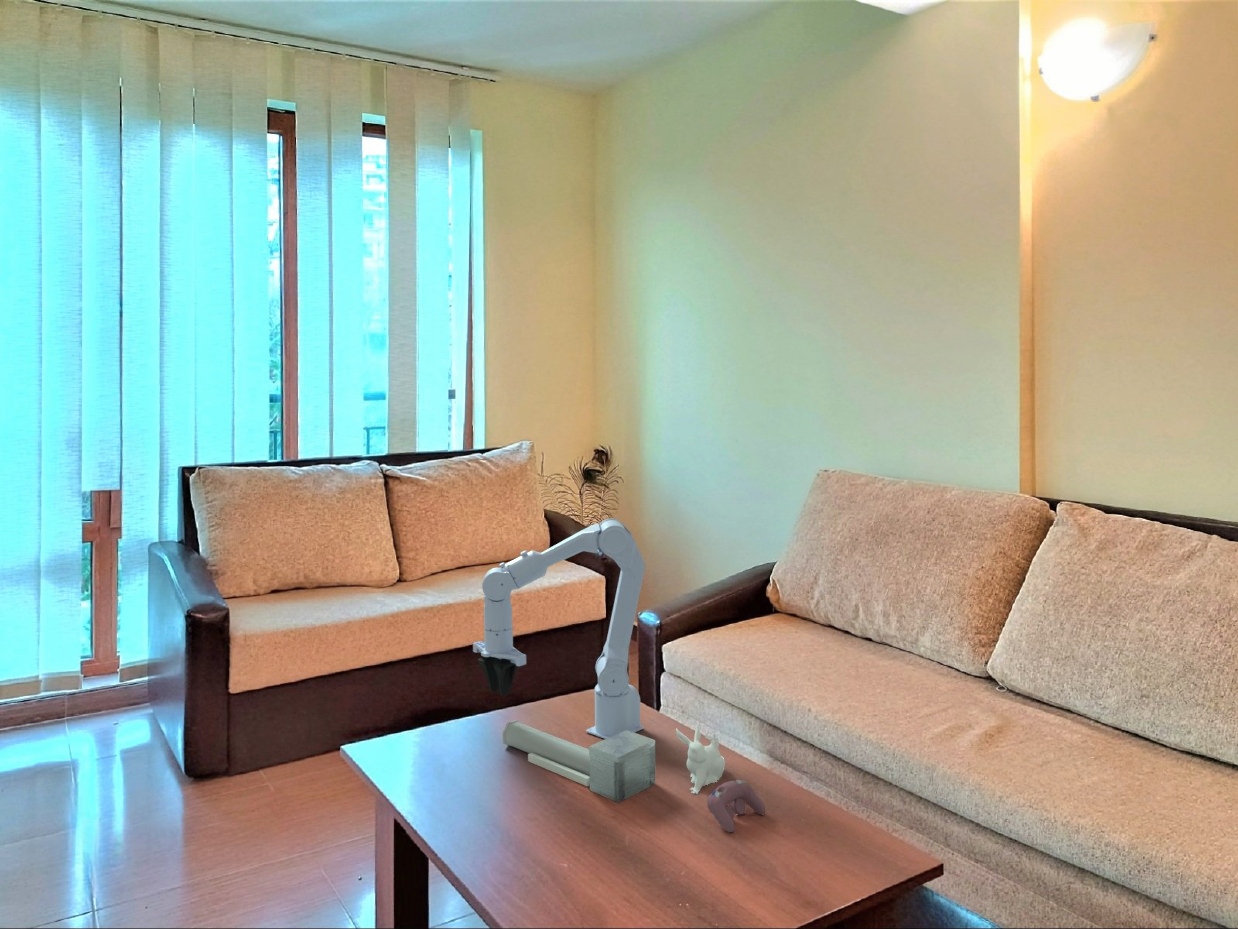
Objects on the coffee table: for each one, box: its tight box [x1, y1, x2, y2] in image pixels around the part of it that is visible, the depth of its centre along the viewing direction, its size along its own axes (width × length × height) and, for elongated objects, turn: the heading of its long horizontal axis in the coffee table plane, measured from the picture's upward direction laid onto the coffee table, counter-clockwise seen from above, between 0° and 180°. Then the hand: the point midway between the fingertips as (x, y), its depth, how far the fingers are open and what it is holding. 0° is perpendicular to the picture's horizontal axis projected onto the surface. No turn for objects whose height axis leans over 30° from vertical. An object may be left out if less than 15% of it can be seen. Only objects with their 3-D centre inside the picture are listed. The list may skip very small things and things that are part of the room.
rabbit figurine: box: [675, 724, 726, 795], centre depth 165 cm, size 12×8×10 cm, turn 138°
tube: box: [502, 719, 590, 777], centre depth 173 cm, size 5×5×25 cm
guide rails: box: [527, 753, 590, 787], centre depth 170 cm, size 8×16×1 cm, turn 47°
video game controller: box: [706, 779, 766, 833], centre depth 150 cm, size 10×5×7 cm, turn 135°
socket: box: [588, 730, 656, 804], centre depth 161 cm, size 10×7×8 cm
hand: (499, 692), depth 184 cm, fingers open, 3 cm apart
